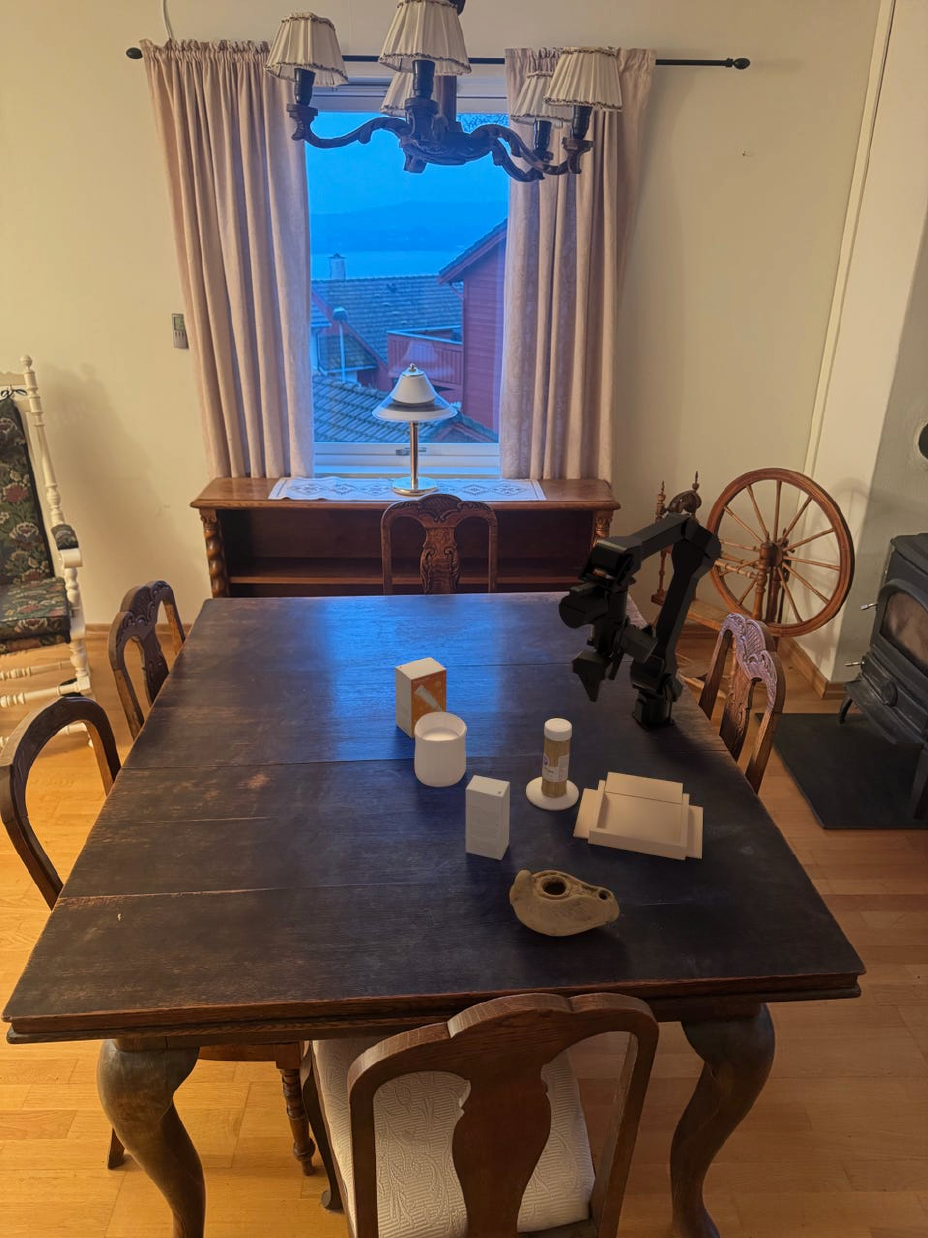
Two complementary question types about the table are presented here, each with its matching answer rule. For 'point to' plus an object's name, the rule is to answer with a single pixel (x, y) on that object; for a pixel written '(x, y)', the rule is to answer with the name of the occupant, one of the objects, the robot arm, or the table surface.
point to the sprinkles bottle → (556, 757)
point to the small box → (419, 692)
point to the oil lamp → (560, 903)
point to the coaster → (547, 802)
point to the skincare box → (487, 817)
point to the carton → (641, 817)
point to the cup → (440, 749)
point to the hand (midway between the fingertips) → (602, 690)
